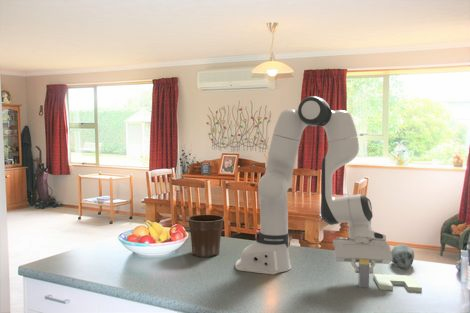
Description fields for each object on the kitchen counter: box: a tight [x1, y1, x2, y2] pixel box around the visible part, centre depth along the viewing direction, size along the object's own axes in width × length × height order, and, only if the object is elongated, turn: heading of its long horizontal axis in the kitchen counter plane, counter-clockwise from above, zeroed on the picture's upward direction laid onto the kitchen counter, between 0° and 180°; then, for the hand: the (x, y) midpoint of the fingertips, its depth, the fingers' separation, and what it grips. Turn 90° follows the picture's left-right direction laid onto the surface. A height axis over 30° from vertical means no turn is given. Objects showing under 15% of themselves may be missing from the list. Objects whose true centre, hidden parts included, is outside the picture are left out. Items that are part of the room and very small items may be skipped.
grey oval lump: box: [391, 243, 415, 270], centre depth 176 cm, size 14×10×10 cm
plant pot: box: [187, 214, 225, 258], centre depth 191 cm, size 16×16×16 cm
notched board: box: [373, 273, 423, 293], centre depth 155 cm, size 14×12×2 cm
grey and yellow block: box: [357, 259, 371, 288], centre depth 153 cm, size 3×3×9 cm
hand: (364, 272), depth 153 cm, fingers closed on grey and yellow block, 3 cm apart
